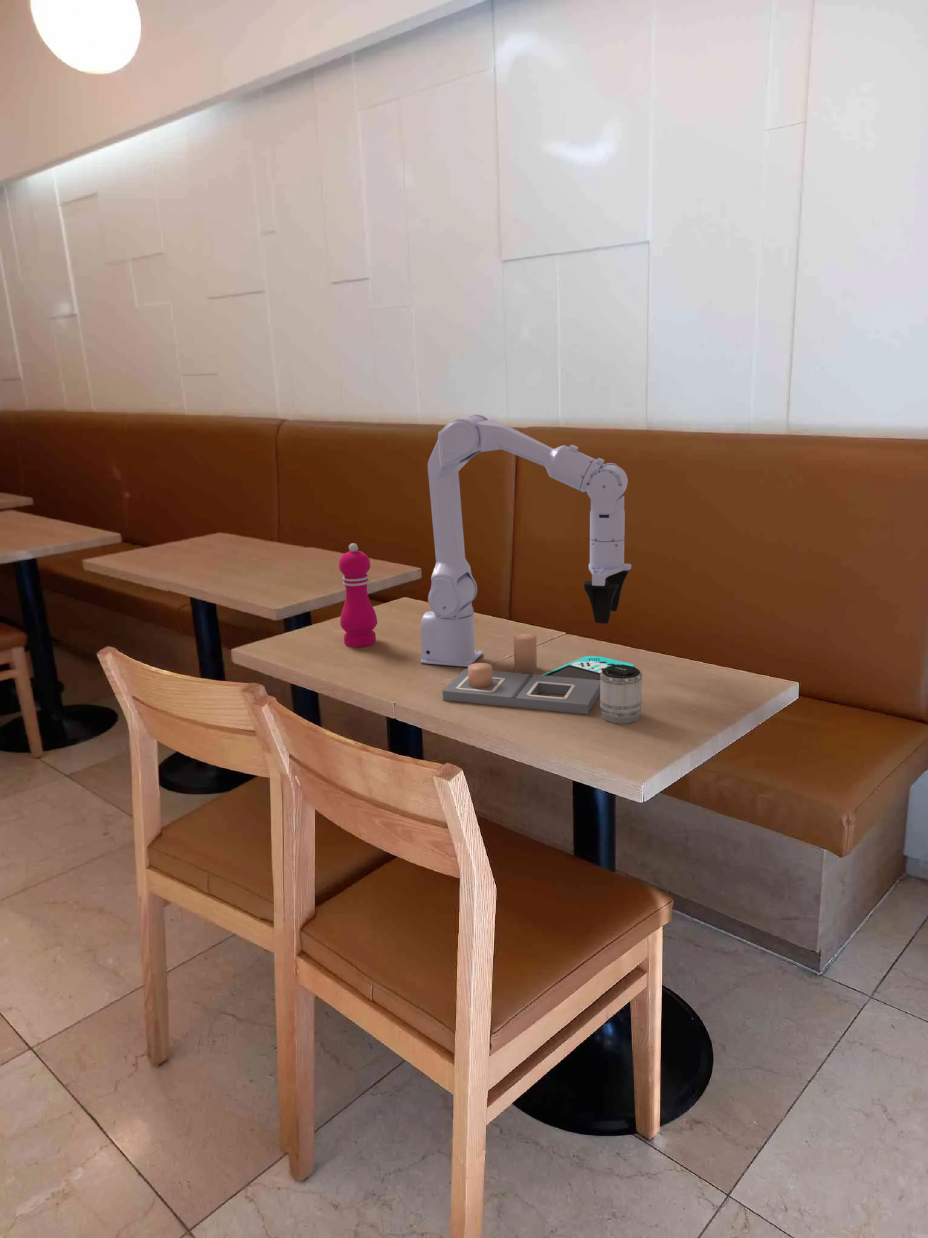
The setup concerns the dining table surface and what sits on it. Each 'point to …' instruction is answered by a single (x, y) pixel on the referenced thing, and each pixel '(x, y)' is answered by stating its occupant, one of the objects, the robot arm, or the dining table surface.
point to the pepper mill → (357, 600)
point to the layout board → (522, 690)
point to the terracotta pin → (525, 653)
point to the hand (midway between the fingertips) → (606, 616)
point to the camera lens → (620, 693)
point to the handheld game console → (585, 668)
